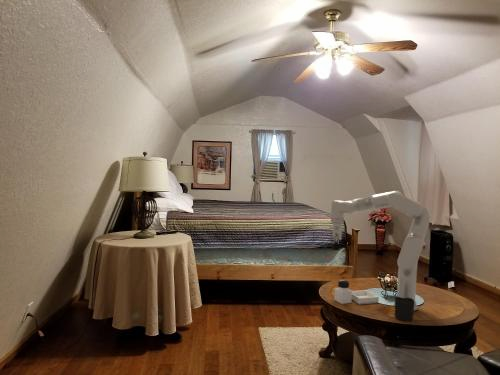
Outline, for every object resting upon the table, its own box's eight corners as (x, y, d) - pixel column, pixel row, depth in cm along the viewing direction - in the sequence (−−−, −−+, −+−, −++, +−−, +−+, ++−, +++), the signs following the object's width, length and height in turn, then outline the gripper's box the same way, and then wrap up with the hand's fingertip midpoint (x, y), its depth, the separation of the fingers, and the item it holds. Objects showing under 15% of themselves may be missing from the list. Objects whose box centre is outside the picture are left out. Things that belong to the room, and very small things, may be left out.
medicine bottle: (351, 302, 221) (352, 282, 220) (341, 304, 218) (342, 283, 218) (344, 298, 228) (345, 278, 227) (334, 300, 225) (334, 279, 224)
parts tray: (378, 302, 222) (378, 297, 222) (358, 304, 219) (359, 298, 219) (366, 295, 234) (366, 290, 234) (347, 297, 231) (347, 291, 231)
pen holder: (406, 323, 194) (407, 303, 193) (390, 317, 201) (391, 298, 201) (417, 319, 199) (418, 300, 199) (400, 313, 207) (401, 295, 206)
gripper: (343, 222, 224) (342, 251, 224) (343, 219, 240) (342, 246, 241) (330, 222, 225) (329, 250, 226) (331, 218, 242) (330, 245, 243)
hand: (336, 248), depth 234 cm, fingers open, 9 cm apart
